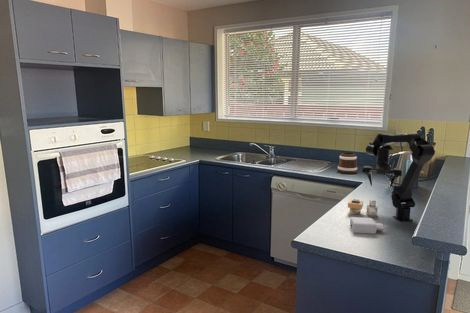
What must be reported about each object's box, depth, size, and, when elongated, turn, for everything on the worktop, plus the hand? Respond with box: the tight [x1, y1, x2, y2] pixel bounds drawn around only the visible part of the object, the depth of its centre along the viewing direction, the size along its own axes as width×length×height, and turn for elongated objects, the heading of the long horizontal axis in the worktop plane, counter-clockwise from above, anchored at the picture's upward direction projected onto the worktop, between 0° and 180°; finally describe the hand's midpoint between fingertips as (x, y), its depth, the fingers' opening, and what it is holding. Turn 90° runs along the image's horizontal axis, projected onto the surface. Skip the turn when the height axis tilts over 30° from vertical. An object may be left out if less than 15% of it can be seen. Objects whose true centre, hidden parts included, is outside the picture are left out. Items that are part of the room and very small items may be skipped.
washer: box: [347, 199, 364, 210], centre depth 172 cm, size 7×7×2 cm
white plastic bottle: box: [349, 216, 388, 235], centre depth 150 cm, size 5×9×15 cm
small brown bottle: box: [349, 198, 362, 216], centre depth 172 cm, size 5×5×7 cm
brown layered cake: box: [337, 152, 358, 175], centre depth 269 cm, size 20×15×15 cm
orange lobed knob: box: [365, 199, 379, 218], centre depth 169 cm, size 5×5×7 cm
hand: (380, 186), depth 178 cm, fingers open, 9 cm apart
